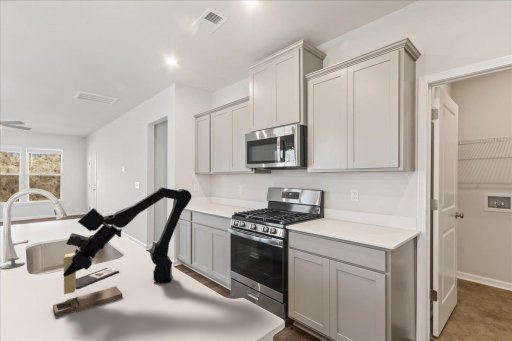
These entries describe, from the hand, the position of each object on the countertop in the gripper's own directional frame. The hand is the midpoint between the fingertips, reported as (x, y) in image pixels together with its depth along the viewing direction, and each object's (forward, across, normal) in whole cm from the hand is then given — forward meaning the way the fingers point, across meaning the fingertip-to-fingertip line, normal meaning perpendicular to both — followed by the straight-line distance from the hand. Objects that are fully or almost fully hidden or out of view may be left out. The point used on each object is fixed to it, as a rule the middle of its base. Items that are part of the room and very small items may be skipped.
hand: (65, 273), depth 95 cm
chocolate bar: (+2, -16, +12) cm, 20 cm away
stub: (+4, 0, +6) cm, 7 cm away
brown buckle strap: (+1, +7, +12) cm, 14 cm away
